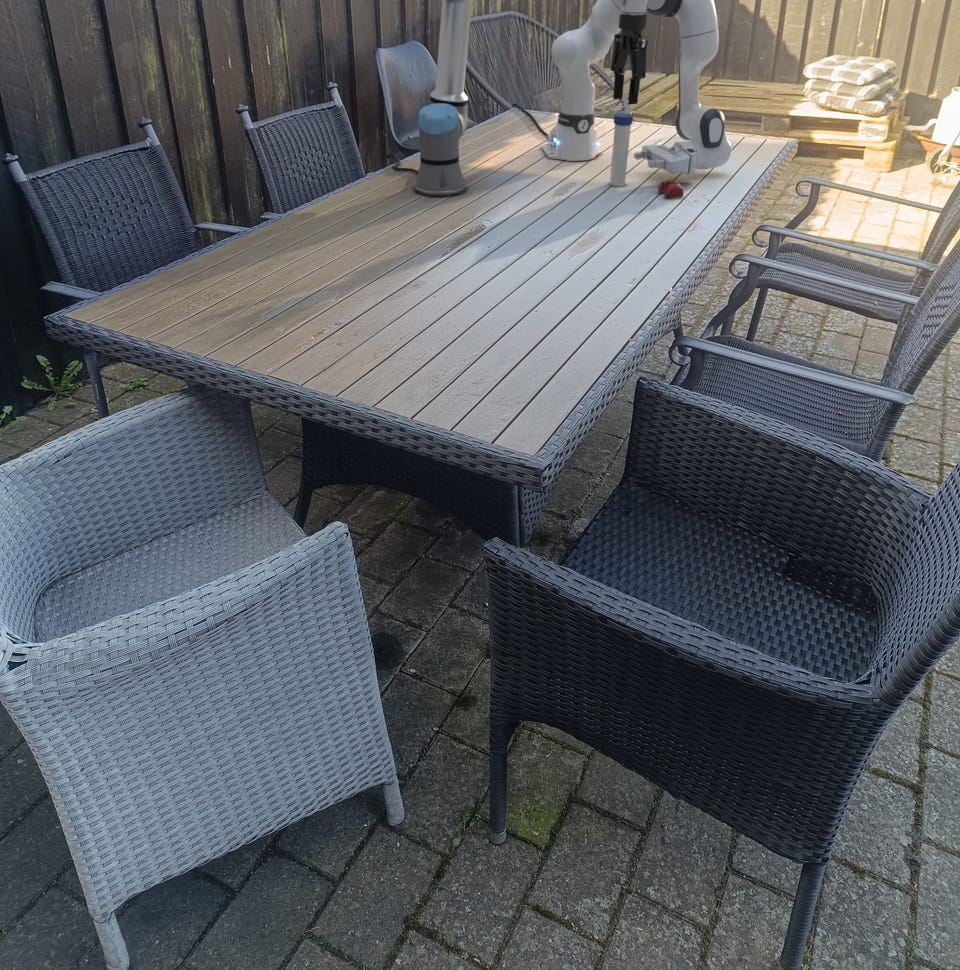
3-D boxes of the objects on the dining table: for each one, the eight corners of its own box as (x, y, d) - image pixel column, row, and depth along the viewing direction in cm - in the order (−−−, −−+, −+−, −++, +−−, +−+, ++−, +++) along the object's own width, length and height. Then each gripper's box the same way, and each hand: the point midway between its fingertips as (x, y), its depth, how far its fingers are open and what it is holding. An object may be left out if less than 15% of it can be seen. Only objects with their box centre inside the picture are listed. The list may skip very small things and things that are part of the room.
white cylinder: (625, 182, 265) (631, 115, 253) (624, 186, 261) (631, 118, 249) (610, 181, 265) (615, 114, 254) (609, 186, 262) (615, 118, 250)
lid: (632, 121, 255) (633, 113, 253) (632, 125, 250) (632, 117, 249) (614, 120, 255) (614, 112, 254) (613, 124, 251) (614, 116, 250)
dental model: (674, 175, 255) (686, 183, 249) (673, 189, 258) (684, 197, 251) (657, 177, 254) (668, 185, 248) (656, 192, 257) (667, 200, 250)
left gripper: (602, 9, 242) (596, 95, 255) (642, 18, 227) (633, 109, 240) (624, 8, 245) (617, 93, 258) (665, 16, 230) (655, 106, 243)
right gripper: (667, 138, 271) (628, 141, 267) (699, 154, 255) (658, 158, 252) (664, 158, 275) (626, 162, 271) (696, 175, 259) (655, 179, 255)
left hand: (625, 101), depth 249 cm, fingers open, 7 cm apart
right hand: (641, 160), depth 261 cm, fingers open, 8 cm apart
